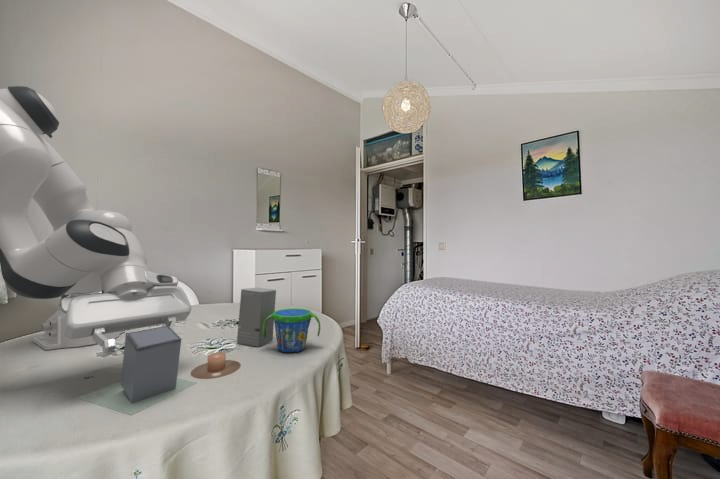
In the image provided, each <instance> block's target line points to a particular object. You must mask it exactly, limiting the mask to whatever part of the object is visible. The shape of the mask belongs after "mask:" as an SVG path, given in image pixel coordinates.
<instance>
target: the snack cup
mask: <svg viewBox="0 0 720 479" xmlns="http://www.w3.org/2000/svg"><path fill="white" fill-rule="evenodd" d="M269 318H273V319H274V329H275V331H274V332H275V338H276V346H277V349H278V351H280V352H282V353H294V352H296V353H297V352H298V353H299V352H300V351H303V350H304V349H305V348H306V346H307V345H306V344H307V339H308V333H309V327H310V324H311V320H312V318H314V319H315V320H316V322H317V323H318V330H317V337H320V334H321V321H320V319H319V317H318V316H317V315H316V314H315V313H313V312H312V311H311V310H309V309H306V308H305V309H304V308H283V309H279V310H276V311H275V312H274V313H273V314H271V315H270V316H268V317H267V318H266V320H265V322H264V325H263V337H264V338H266V322H267V320H268V319H269Z"/></svg>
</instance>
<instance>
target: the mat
mask: <svg viewBox="0 0 720 479" xmlns="http://www.w3.org/2000/svg"><path fill="white" fill-rule="evenodd" d="M196 384H197V382H196V381H191V380H187V379H182V378H179V377H177V382H176V389H173V390H170V391H167V392H164V393H161V394H158V395H155V396H152V397H149V398H147V399H144V400H141V401H138V402H135V403H131V402H130V400H129V398H128V396H127V394H126V393H125V391H124V389H123V387H122V386H121V380H120V381H116V382H115V383H112V384H109V385H107V386H104V387H101V388H99V389H96V390H94V391H91V392H88V393H86V394H83V395H80V396H77V397H76V399H79V400H82V401H86V402H87V403H91V404H93V405H97V406H100V407H103V408H107V409H110V410H114V411H115V412H116V411H117V412H119V413H122V414H126V415H129V416H134V415H136V414H137V413H140V412H141V411H143V410H145V409H147V408H149V407H151V406H154V405H155V404H158V403H160V402H162V401H164V400H166V399H167V398H169V397H173V396H174V395H177V394H178V393H180V392H181V391H184V390H186V389H188V388H190V387H192V386H194V385H196Z"/></svg>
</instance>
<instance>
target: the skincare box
mask: <svg viewBox="0 0 720 479" xmlns="http://www.w3.org/2000/svg"><path fill="white" fill-rule="evenodd" d="M240 291H241V292H240V302H239V312H238V314H239V315H238V324H237V325H238V326H237V336H236V344H239V345H244V346H245V345H246V346H250V347H251V346H252V347H257V348H260V347H262V346H264V345H267V344H269V343H271V342H270V341H272V340H273V339H274V328H275V323H274V319H273V318H269V319H268V320H267V322H266V338H264V337H263V325H264V322H265V320H266V318H267V317H268V316H270V315H271V314H273V313H274V312H275V309H276V298H277V297H276V295H277V290H276V289H270V288H263V287H248V288H242V289H241V290H240ZM268 342H269V343H268ZM272 342H273V341H272ZM266 343H267V344H266Z"/></svg>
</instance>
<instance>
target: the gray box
mask: <svg viewBox="0 0 720 479" xmlns="http://www.w3.org/2000/svg"><path fill="white" fill-rule="evenodd" d="M181 345H182V338H181V337H180V336H179V335H178V334H177V333H176V332H175V331H174V329H173V330H172V329H171V328H170V327H169V326H166V325H165V326H159V327H155V328H148V329H142V330H140V331H139V330H137V331H131V332H127V333H125V339H124V348H123V350H124V351H123V359H122V369H121V380H120V381H121V386H122V387H123V389H124V391H125V393H126V394H127V396H128V398H129V400H130V402H131V403H135V402H138V401H141V400H144V399H147V398H149V397H152V396H155V395H158V394H161V393H164V392H167V391H170V390H173V389H176V382H177V378H178V372H179V361H180V356H181V348H182V347H181Z"/></svg>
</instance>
